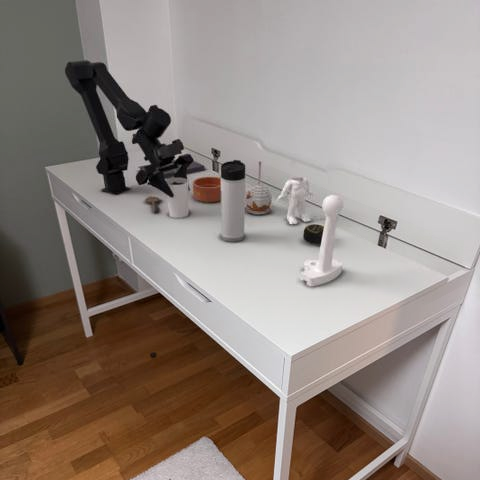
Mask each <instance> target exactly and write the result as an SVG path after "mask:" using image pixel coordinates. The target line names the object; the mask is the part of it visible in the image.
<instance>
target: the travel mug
mask: <svg viewBox="0 0 480 480" xmlns="http://www.w3.org/2000/svg"><path fill="white" fill-rule="evenodd" d="M220 178H221V200H220V237H221V239H222V240H223V241H225V242H229V243H237V242H240V241H243V240H244V238H245V216H246V215H245V214H246V213H245V212H246V209H245V207H246V204H245V203H246V201H245V197H246V164H245V163H243V162H242V161H241V160H239V159H233V160H230V161H226V162H223V163H222V164H221V165H220Z"/></svg>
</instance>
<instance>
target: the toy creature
mask: <svg viewBox="0 0 480 480" xmlns="http://www.w3.org/2000/svg"><path fill="white" fill-rule="evenodd" d="M310 188H311V186H310V182H309V180H308V178H307V177H302V176H301V177H293V178H289V179H288V180H286V181H285V184H284V185H283V188H282V190H281V191H280V194H279V195H278V197H277V199H276V202H277V203H279V202H280V200H282V199H283V198H284V197H286V196H287V195H288V197H287V198H288V207H287V213H286V214H287V215H286V220H287V221H288V224H289V225H297V224H298V223H299V222H298V221H297V219H299V220H301V221H303V222H304V223H309V222H312V219H311V218H309V217H308V215H306V206H307V203H306V196H307V197H314V195H313V193H314V192H313V191H311V190H310ZM288 193H289V194H288ZM296 211H297V214H296ZM295 215H296V217H297V219H296V218H295Z"/></svg>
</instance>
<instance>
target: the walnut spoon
mask: <svg viewBox="0 0 480 480" xmlns="http://www.w3.org/2000/svg"><path fill="white" fill-rule="evenodd" d="M144 201H145V203H146V204H148V205H151V206H152V207H151V208H152V210H153V213H155V214H157V213H158V207H157V206H158V205H157V204H159V203H161V200H160V197H158V196H148V197H146V198H145V200H144Z"/></svg>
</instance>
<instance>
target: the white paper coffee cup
mask: <svg viewBox="0 0 480 480" xmlns="http://www.w3.org/2000/svg"><path fill="white" fill-rule="evenodd" d="M187 179H188V178H187ZM187 179H185V178H174V177H169V178H166V179H165V181H166V182H167V184H168V185H169V187H170V189H171V191H172V192H173V195H174V196H173V197H172V198H171V197H170V196H168V195H166V198H167V205H168V213H169V214H168V215H169V217H171V218H176V219H182V218H186V217H188V216H189V212H190V211H189V209H190V208H189V207H190V206H189V192H188V183H189V179H188V180H187Z"/></svg>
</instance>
